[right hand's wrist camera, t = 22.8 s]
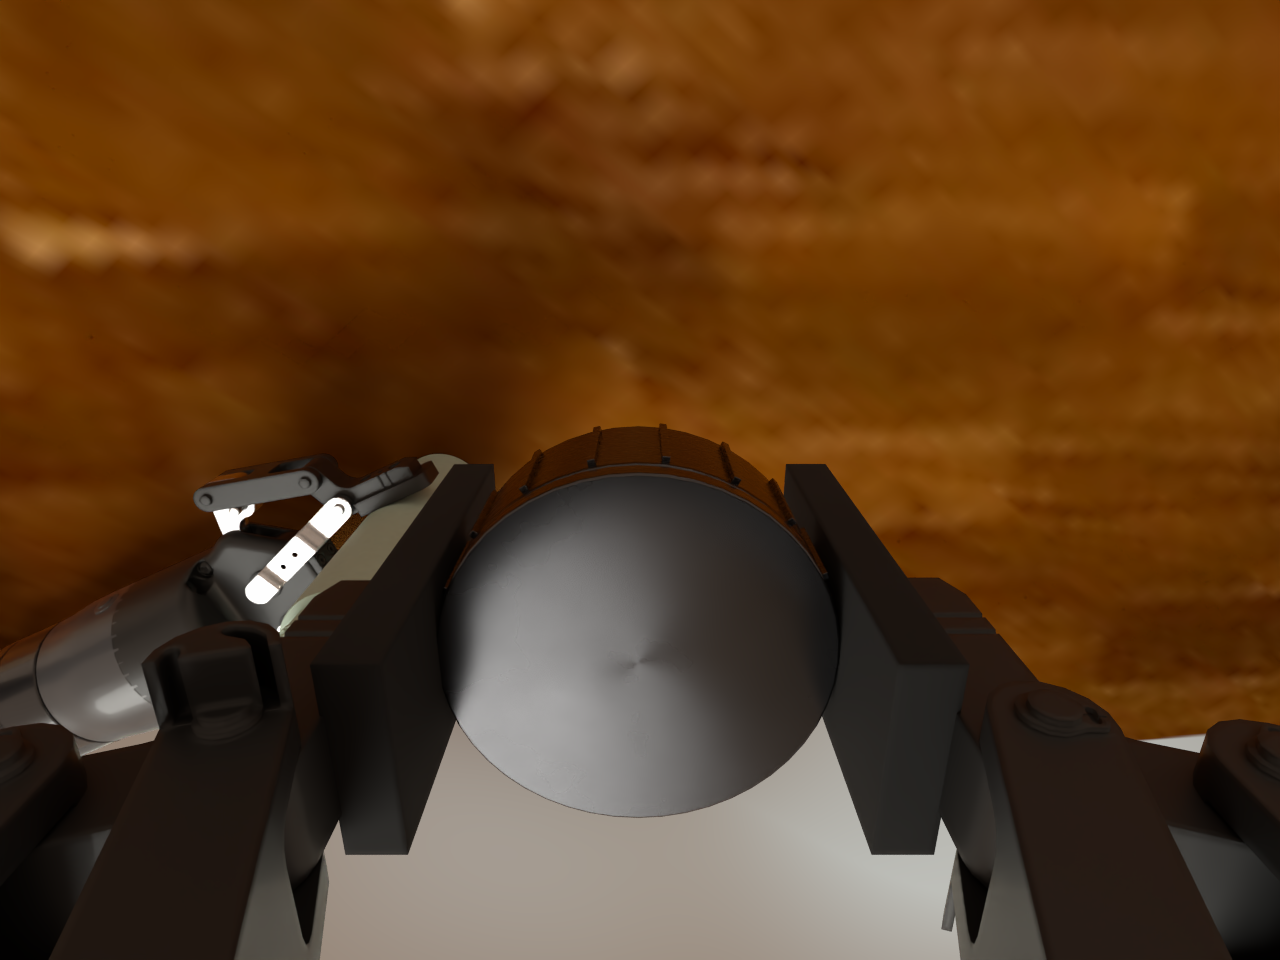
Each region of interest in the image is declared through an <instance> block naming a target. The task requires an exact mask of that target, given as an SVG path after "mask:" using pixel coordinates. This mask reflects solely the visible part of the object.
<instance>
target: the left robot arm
mask: <svg viewBox="0 0 1280 960" xmlns="http://www.w3.org/2000/svg"><path fill="white" fill-rule="evenodd" d="M438 474H439V472H438V470H437V468H436V467H435V465H434V463H433V462H432V461H428V462H425V463H423V464H420V463H419V461H418V459H417V458H416V457H407V458H403V459H401V460H399V461H396V462H395V463H392V464H390V465H388V466H385V467H383V468H381V469H379V470H377V471H374V472H372V473H370V474H368V475H366V476H363V477H360V478H354V477H350V476H348V475H346V474H345V473H344V472H342V471H341V470H340V469H339V468H338V463H337V461H336V460H335V458H334V457H332V456H331V455H329V454H318V455H312V456H306V457H301V458H295V459H289V460H284V461H278V462H273V463H267V464H261V465H256V466H250V467H244V468H239V469H233V470H228V471H225V472H224V473H222V474H221V475H219V476H218V477H216V478H215V479H213V480H212V481H210V482H208V483H207V484H205V485H204V486H202V487H201V488H199V489H198V490H197V491H196V492H195V493H194V496H193V499H194V503H195V504H196V506H197V507H198V508H199V509H201V510H203V511H206V512H213V513H214V515H215V518H216V520H217V522H218V525H219V527H220V529H221V532H222V534H223V535H222V536H221V537H220V538H219V539H218V540H217V542H216V543H215V545H214V547H212V548H210V549H207V550H205V551H203V552H201V553H199V554H196V555H194V556H192V557H190V558H188V559H185V560H183V561H181V562H179V563H177V564H174V565H172V566H170V567H168V568H166V569H163V570H161V571H159V572H157V573H154V574H152V575H150V576H148V577H145V578H143V579H141V580H139V581H137V582H134V583H132V584H130V585H128V586H126V587H123V588H121V589H119V590H117V591H115V592H112V593H110V594H108V595H106V596H104V597H102V598H100V599H98V600H96V601H94V602H93V603H91V604H89V605H88V606H86V607H85V608H83V609H82V610H80V611H79V612H77V613H76V614H74V615H73V616H71V617H69V618H67V619H65V620H63V621H61V622H59V623H56V624H54V625H52V626H50V627H47V628H45V629H43V630H41V631H39V632H36V633H34V634H32V635H30V636H27V637H25V638H23V639H20V640H18V641H16V642H14V643H12V644H10V645H8V646H6V647H5V648H3V649H1V650H0V729H4V728H8V727H12V726H21V725H28V724H35V723H48V724H56V725H62V726H64V727H65V728H66V729H68V730H69V731H70V732H72V733H73V735H74V738H75V741H76V744H77V747H78V750H79V753H80V756H84V755H85V754H87V753H90V752H92V751H95V750H97V749H99V748H102V747H104V746H106V745H109V744H111V743H114V742H116V741H118V740H121V739H124V738H127V737H129V736H133V735H137V734H142V733H146V732H150V731H153V730H156V729H159V726H158V722H157V719H156V715H155V712H154V708H153V705H152V701H151V698H150V694H149V691H148V687H147V684H146V680H145V677H144V673H143V670H142V666H141V663H142V662H143V661H144V660H145V659H146V658H147V657H148V656H149V655H150V654H151V653H152V652H153V651H154V650H155V649H156V648H158V647H160V646H161V645H163V644H165V643H166V642H168V641H169V640H171V639H173V638H174V637H177V636H179V635H182V634H184V633H187V632H189V631H192V630H195V629H197V628H200V627H204V626H208V625H213V624H218V623H222V622H227V621H249V620H251V621H256V622H261V623H266V624H269V625H271V626H272V627H273V628H275V629H276V630H277V631H280V626H281V623H282V620H283V618H284V616H285V615H286V613H287V612H288V610H289V609H290V608H291V607H292V605H293V604H294V603H295V602H296V601H297V599H298V598H299V597H300V596H301V595H302V593H303V592H304V591H305V590H306V589H307V588H308V586H309V585H310V584H311V583H312V582H313V580H314V579H315V578H316V577H317V576H318V574H319V573H320V572H321V571H322V570H323V568H324V567H325V566H326V565H327V564H328V562H329V561H330V560H331V559H332V558H333V557H334V555H335V554H336V553H337V552H338V550H337V549H336V547H335V546H334V544H333V543H332V541H331V540H330V539H329V538H330V537H331V536H332V535H333V534H334V533H335V532H336V531H337V530H338V529H339V528H340V527H341V526H342V525H343V524H344V523H345V522H346V521H347V520H348V519H349V518H350V516H351V515H353V514H356V513H359V514H360V516H361V517H363V516H365V515H367V514H369V513H372V512H374V511H376V510H378V509H380V508H383V507H385V506H387V505H390V504H392V503H394V502H396V501H399V500H401V499H403V498H405V497H407V496H410V495H412V494H414V493H416V492H419V491H421V490H423V489H425V488H426V487H428V486H429V485H431V484H432V483H433V481H434V480H435V478H436V477H437V476H438ZM310 494H311V495H312V496H313V497H314V498H316V499H317V500H318V501H319V502H321V503H322V504H323V505H324V506H323V507H322V508H321V509H320V510H319V511H318V513H317V514H316V515H315V516H314V517H313V518H312V519H311V520H310V521H309V522H308V523H307V524H306V525H305V526H304V527H303V528H302V529H301V530H300V531H299V530H293V529H287V528H281V527H276V526H270V525H264V524H259V523H253V522H249V516H251V515H252V514H253V513H254V512H255V511H257V510H258V509H259V508H260V507H261V506H262V505H263V503H265V502H271V501H276V500H282V499H288V498H294V497H299V496H305V495H310Z"/></svg>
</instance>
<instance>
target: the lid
mask: <svg viewBox="0 0 1280 960" xmlns="http://www.w3.org/2000/svg"><path fill="white" fill-rule="evenodd" d="M469 536H470V537H471V540H470V541H467V543H466V545H465V547H464V549H463V551H462V553H461V555H460V557H459V559H458V561H457V563H456V564H455V566H454V568H453V570H452V572H451V574H450V576H449V578H448V580H447V582H446V584H445V586H444V588H443V594H444V598H443V602H442V605H441V609H440V612H439V616H438V625H437V645H438V655H439V664H440V672H441V680H442V687H443V691H444V693H445V696H446V699H447V702H448V705H449V707H450V709H451V711H452V713H453V715H454V717H455V718H456V720H457V722H458V724H459V726H460V727H461V729H462V730H463V732H464V733H465V734H466V736H467V737H468V739H469V740H470V741H471V743H472V744H473V745H474V746H475V747H476V748H477V749H478V751H479V752H480V753H481V754H482V755H483V756H484V757H485V758H486V759H487V760H488V761H489V762H490V763H491V764H493V765H494V766H495V767H496V768H497V769H498V770H500V771H501V772H502V773H503V774H504V775H506V776H507V777H509V778H510V779H512V780H513V781H515V782H516V783H518V784H519V785H521V786H523V787H524V788H526V789H528V790H530V791H532V792H534V793H535V794H538V795H539V796H541V797H543V798H545V799H548V800H551V801H553V802H556V803H559V804H561V805H564V806H567V807H570V808H574V809H578V810H581V811H585V812H589V813H594V814H601V815H607V816H614V817H633V818H643V817H662V816H669V815H675V814H682V813H687V812H691V811H695V810H699V809H702V808H706V807H710V806H712V805H715V804H718V803H720V802H723V801H726V800H728V799H731V798H733V797H735V796H737V795H739V794H741V793H743V792H745V791H747V790H749V789H751V788H752V787H754V786H755V785H757V784H758V783H760V782H761V781H763V780H765V779H766V778H768V777H769V776H771V775H772V774H773V773H774V772H775V771H777V770H778V769H779V768H780V767H781V766H783V765H784V764H785V763H786V762H787V761H788V760H789V759H790V758H791V757H792V756H793V755H794V754H795V753H796V752H797V751H798V750H799V749H800V747H801V746H802V745H803V744H804V743H805V742H806V740H807V739H808V737H809V736H810V734H811V733H812V732H813V730H814V729H815V727H816V726H817V724H818V722H819V721H820V719H821V717H822V715H823V713H824V711H825V709H826V707H827V705H828V702H829V699H830V697H831V694H832V691H833V688H834V685H835V681H836V676H837V670H838V665H839V655H840V633H839V625H838V617H837V613H836V609H835V605H834V602H833V598H832V595H831V592H830V590H829V588H828V585H827V583H826V581H825V580H827V579H829V575H828V572H827V570H826V569H825V567H824V565H823V563H822V561H821V559H820V557H819V555H818V553H817V551H816V549H815V547H814V545H813V543H812V541H811V539H810V537H809V535H808V533H807V532H806V530H805V528H801V529H800V528H799V526H798V524H797V522H796V520H795V518H794V516H793V514H792V512H791V510H790V508H789V506H788V504H787V502H786V500H785V498H784V496H783V494H782V492H781V490H780V488H779V486H778V484H777V482H776V481H775V480H774V479H773V478H772V479H771V480H770V481H768V479H767V478H766V477H765V476H764V475H762V474H761V473H760V472H759V471H758V470H757V469H756V468H754V467H753V466H752V465H751V464H750V463H749V462H747V461H746V460H744V459H743V458H741V457H739V456H738V455H736V454H735V453H733V452H732V451H731V450H730V448H729V445H728V444H727V443H725V442H722V443H721V445H718V444H716V443H714V442H712V441H710V440H707V439H704V438H701V437H698V436H695V435H692V434H689V433H686V432H681V431H676V430H670V429H667V425H666V424H659V428H656V427H640V426H637V427H621V428H611V429H606V430H601V427H600V426H598V427H594V428H593V432H590V433H587V434H584V435H581V436H578V437H575V438H572V439H569V440H567V441H565V442H562V443H560V444H558V445H556V446H554V447H552V448H550V449H548V450H546V451H545V452H543V453H542V452H541V450H540V449H539V450H537V451H536V452H534V455H533V457H532V459H531V461H529V462H528V463H527V464H525V465H524V466H523V467H522V468H521V469H520V470H519V471H517V472H516V473H515V474H514V475H513V476H512V477H511V478H510V479H509V480H508V481H507V482H506V483H505V485H504V486H503V487H502V488H501V489H500V490H499V491H498V492H497V491H495V490H493V491H492V492H491V494H490V495H489V497H488V499H487V501H486V503H485V505H484V507H483V509H482V511H481V513H480V515H479V517H478V519H477V520H476V522H475V524H474V526H473V528H472V530H471V532H470V534H469Z"/></svg>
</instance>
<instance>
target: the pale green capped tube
mask: <svg viewBox="0 0 1280 960" xmlns="http://www.w3.org/2000/svg"><path fill="white" fill-rule="evenodd" d="M418 461H419V463H420V464H423V463H425V462H428V461H432V462H433V463H434V465H435V467H436V468H437V470H438V472H439V474H438V476H437V477H436V478H435V480H434V481H433V483H432V484H431V485H429V486H428V487H426V488H425V489H423V490H421V491H419V492H416V493H414V494H412V495H410V496H407V497H405V498H403V499H401V500H399V501H396V502H394V503H392V504H390V505H387V506H385V507H383V508H380V509H378V510H376V511H374V512H372V513H370V514H369V515H368V516H367V517H366V518H365V520H364V521H363V522H362V523H361V524H360V525H359V527H358V528H357V529H356V530H355V531H354V533H353V534H352V535H351V536H350V537H349V539H348V540H347V541H346V542H345V543H344V545H343V546H342V547H341V548H340V549H339V551H338V552H337V553H336V554H335V555H334V557H333V558H332V559H331V560H330V561H329V562H328V564H327V565H326V566H325V567H324V568H323V570H322V571H321V572H320V573H319V574H318V576H317V577H316V578H315V579H314V580H313V582H312V583H311V584H310V585H309V586H308V588H307V589H306V590H305V591H304V592H303V593H302V595H301V596H300V597H299V598H298V599H297V601H296V602H295V603H294V604H293V605H292V607H291V608H290V609H289V610H288V612H287V613H286V615H285V616H284V618H283V620H282V623H281V626H280V631H279V633H280V637H284V635H285V633H284V632H285V631H286V630H287V629H288V628H289V626H290V625H291V624H292V623H293V622H294V620H298V616H299V614H300V613H301V612H302V611H303V610H304V608H305V607H306V606H307V605H308V604H309V602H310V601H311V600H312V599H313V598H314V597H315V596H316V595H318V594H320V593H321V592H323V591H324V590H326V589H328V588H329V587H331V586H333V585H334V584H336V583H338V582H339V581H341V580H371V579H372V578H373V576H374V575H375V573H376V572H377V571H378V569H379V568H380V566H381V565H382V564H383V562H384V561H385V559H386V558H387V557H388V555H389V554H390V553H391V551H392V550H393V548H394V547H395V546H396V544H397V543H398V541H399V540H400V539H401V537H402V536H403V534H404V533H405V532H406V530H407V529H408V528H409V526H410V525H411V523H412V522H413V521H414V519H415V518H416V516H417V515H418V514H419V512H420V511H421V509H422V508H423V507H424V505H425V504H426V503H427V501H428V500H429V498H430V497H431V496H432V494H433V493H434V491H435V490H436V489H437V487H438V486H439V484H440V483H441V482H442V480H443V479H444V478H445V476H446V475H447V473H448V472H449V471H450V469H451V468H452V466H453V465H454V464H467V463H466V462H464V461H463V460H461V459H459V458H457V457H454V456H451V455H447V454H431V455H427V456H424V457H421V458H419V459H418Z"/></svg>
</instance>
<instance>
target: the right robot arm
mask: <svg viewBox="0 0 1280 960" xmlns="http://www.w3.org/2000/svg"><path fill="white" fill-rule="evenodd" d="M493 490H495V478H494V465H493V464H454V465H453V466H452V468H451V469H450V471H449V472H448V473H447V475H446V476H445V478H444V479H443V480H442V482H441V483H440V484H439V486H438V487H437V489H436V490H435V491H434V493H433V494H432V496H431V497H430V498H429V500H428V501H427V503H426V504H425V505H424V507H423V508H422V509H421V511H420V512H419V514H418V515H417V516H416V518H415V519H414V521H413V522H412V523H411V525H410V526H409V528H408V529H407V530H406V532H405V533H404V534H403V536H402V537H401V539H400V540H399V541H398V543H397V544H396V546H395V547H394V548H393V550H392V551H391V553H390V554H389V555H388V557H387V558H386V559H385V561H384V562H383V564H382V565H381V566H380V568H379V569H378V571H377V572H376V573H375V575H374V576H373V578H372V579H371V580H341V581H339V582H338V583H336V584H334V585H333V586H331V587H329V588H328V589H326V590H324V591H323V592H321V593H320V594H318V595H316V596H315V597H314V598H313V599H312V600H311V601H310V602H309V604H308V605H307V606H306V607H305V608H304V610H303V611H302V612H301V613H300V614H299V616H298V620H294V622H293V623H292V624H291V625H290V626H289V628H288V629H287V630H286V631H285V632H284V633H285V635H284V637H280V633H279V631H277V630H276V629H275V628H273V627H272V626H271V625H269V624H266V623H261V622H256V621H251V620H249V621H227V622H222V623H218V624H213V625H208V626H204V627H200V628H197V629H195V630H192V631H189V632H187V633H184V634H182V635H179V636H177V637H174V638H173V639H171V640H169V641H168V642H166V643H165V644H163V645H161V646H160V647H158V648H156V649H155V650H154V651H153V652H152V653H151V654H150V655H149V656H148V657H147V658H146V659H145V660H144V661H143V662H142V663H141V666H142V670H143V673H144V677H145V680H146V684H147V687H148V691H149V694H150V698H151V701H152V705H153V708H154V712H155V715H156V719H157V722H158V726H159V731H158V733H157V736H156V738H155V740H154V741H151V742H147V743H143V744H139V745H134V746H129V747H124V748H119V749H114V750H109V751H104V752H100V753H95V754H90V755H85V756H80V753H79V750H78V747H77V744H76V741H75V738H74V735H73V733H72V732H70V731H69V730H68V729H66V728H65V727H64V726H62V725H56V724H48V723H35V724H28V725H21V726H12V727H8V728H4V729H0V960H320V952H321V944H322V935H323V927H324V919H325V911H326V903H327V894H328V886H329V879H328V872H327V865H326V860H325V855H324V849H325V847H326V845H327V843H328V841H329V839H330V837H331V835H332V832H333V831H334V829H335V827H336V824H337V822H338V820H339V823H340V828H341V833H342V838H343V844H344V849H345V854H346V855H408V853H409V850H410V847H411V844H412V842H413V839H414V836H415V833H416V830H417V827H418V825H419V822H420V819H421V816H422V814H423V811H424V808H425V805H426V803H427V800H428V797H429V794H430V791H431V788H432V786H433V783H434V780H435V777H436V774H437V772H438V769H439V766H440V763H441V760H442V758H443V755H444V752H445V749H446V747H447V744H448V741H449V738H450V735H451V733H452V730H453V727H454V724H455V721H456V718H455V717H454V715H453V713H452V711H451V709H450V707H449V705H448V702H447V699H446V696H445V693H444V691H443V687H442V680H441V672H440V664H439V655H438V645H437V625H438V616H439V612H440V609H441V605H442V602H443V598H444V594H443V588H444V586H445V584H446V582H447V580H448V578H449V576H450V574H451V572H452V570H453V568H454V566H455V564H456V563H457V561H458V559H459V557H460V555H461V553H462V551H463V549H464V547H465V545H466V543H467V541H470V540H471V537H470V536H469V534H470V532H471V530H472V528H473V526H474V524H475V522H476V520H477V519H478V517H479V515H480V513H481V511H482V509H483V507H484V505H485V503H486V501H487V499H488V497H489V495H490V494H491V492H492V491H493ZM784 498H785V500H786V502H787V504H788V506H789V508H790V510H791V512H792V514H793V516H794V518H795V520H796V522H797V524H798V526H799V528H800V529H801V528H805V530H806V532H807V533H808V535H809V537H810V539H811V541H812V543H813V545H814V547H815V549H816V551H817V553H818V555H819V557H820V559H821V561H822V563H823V565H824V567H825V569H826V570H827V572H828V575H829V579H827V580H825V581H826V583H827V585H828V588H829V590H830V592H831V595H832V598H833V602H834V605H835V609H836V613H837V617H838V625H839V633H840V655H839V665H838V670H837V676H836V681H835V685H834V688H833V691H832V694H831V697H830V699H829V702H828V705H827V707H826V709H825V711H824V713H823V715H822V717H823V720H824V723H825V725H826V728H827V731H828V734H829V737H830V739H831V742H832V745H833V748H834V751H835V753H836V756H837V759H838V762H839V765H840V767H841V770H842V773H843V776H844V779H845V781H846V784H847V787H848V790H849V793H850V795H851V798H852V801H853V804H854V807H855V809H856V812H857V815H858V818H859V821H860V823H861V826H862V829H863V832H864V835H865V837H866V840H867V843H868V846H869V849H870V851H871V854H872V855H934V852H935V846H936V841H937V836H938V830H939V825H940V820H941V818H942V820H943V822H944V824H945V826H946V828H947V830H948V832H949V834H950V836H951V838H952V840H953V842H954V844H955V846H956V848H957V850H956V855H955V861H954V866H953V870H952V875H951V880H950V885H949V890H948V895H947V900H946V905H945V910H944V915H943V922H942V929H943V930H947V931H952V927H953V923H954V918H955V917H956V925H957V933H958V942H959V950H960V958H961V960H1280V726H1279V725H1275V724H1270V723H1263V722H1256V721H1248V720H1241V719H1238V720H1229V721H1220V722H1218V723H1216V724H1215V725H1214V726H1212V727H1211V728H1209V729H1208V730H1207V733H1206V736H1205V739H1204V742H1203V745H1202V748H1201V751H1200V753H1197V752H1192V751H1187V750H1182V749H1177V748H1172V747H1167V746H1162V745H1157V744H1152V743H1147V742H1143V741H1138V740H1134V739H1130V738H1127V737H1125V736H1124V734H1123V732H1122V730H1121V728H1120V727H1119V726H1118V724H1117V723H1116V722H1115V721H1114V719H1113V718H1112V717H1111V716H1110V714H1109V713H1108V712H1106V711H1105V710H1104V709H1102V708H1101V707H1099V706H1098V705H1097V704H1095V703H1094V702H1092V701H1091V700H1090V699H1088V698H1086V697H1084V696H1081V695H1079V694H1077V693H1075V692H1072V691H1070V690H1068V689H1066V688H1063V687H1059V686H1055V685H1051V684H1047V683H1043V682H1039V681H1038V680H1037V679H1036V677H1035V676H1034V675H1033V674H1032V673H1031V671H1030V670H1029V669H1028V668H1027V667H1026V665H1025V664H1024V663H1023V662H1022V661H1021V660H1020V658H1019V657H1018V656H1017V655H1016V654H1015V652H1014V651H1013V650H1012V649H1011V648H1010V646H1009V645H1008V644H1007V643H1006V642H1005V640H1004V639H1003V638H1002V637H1001V636H1000V635H999V634H996V632H995V629H994V627H993V626H992V625H991V624H990V623H989V621H988V620H987V619H986V618H982V613H981V612H980V611H979V610H978V608H977V607H976V606H975V605H974V604H973V602H972V601H971V600H970V599H969V598H968V596H967V595H966V594H964V593H963V592H961V591H959V590H958V589H956V588H954V587H953V586H951V585H950V584H948V583H946V582H945V581H943V580H941V579H940V578H907V577H906V575H905V574H904V573H903V571H902V570H901V569H900V567H899V566H898V564H897V563H896V562H895V560H894V559H893V557H892V556H891V555H890V553H889V552H888V550H887V549H886V548H885V546H884V545H883V544H882V542H881V541H880V539H879V538H878V537H877V535H876V534H875V532H874V531H873V530H872V528H871V527H870V525H869V524H868V523H867V521H866V520H865V519H864V517H863V516H862V514H861V513H860V512H859V510H858V509H857V507H856V506H855V505H854V503H853V502H852V500H851V499H850V498H849V496H848V495H847V493H846V492H845V491H844V489H843V488H842V487H841V485H840V484H839V482H838V481H837V480H836V478H835V477H834V475H833V474H832V473H831V471H830V470H829V468H828V467H827V466H826V464H786V472H785V485H784Z"/></svg>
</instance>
